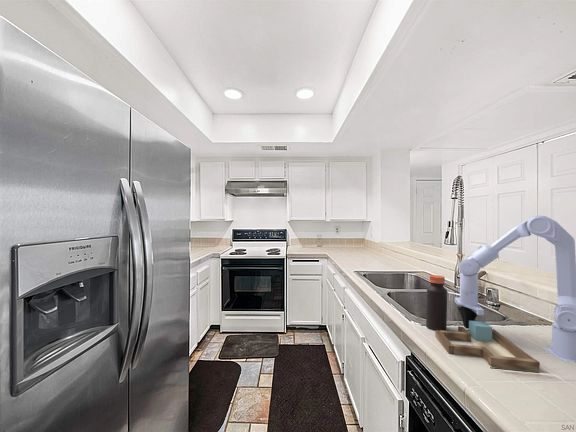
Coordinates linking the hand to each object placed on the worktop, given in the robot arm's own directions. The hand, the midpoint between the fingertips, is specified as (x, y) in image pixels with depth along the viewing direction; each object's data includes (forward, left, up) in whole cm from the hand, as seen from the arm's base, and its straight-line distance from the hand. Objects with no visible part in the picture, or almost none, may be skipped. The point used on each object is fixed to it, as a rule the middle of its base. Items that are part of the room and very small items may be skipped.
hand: (467, 327), depth 105 cm
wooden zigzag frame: (+4, +15, -1) cm, 16 cm away
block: (-1, +7, -1) cm, 7 cm away
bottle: (+11, 0, -2) cm, 11 cm away
